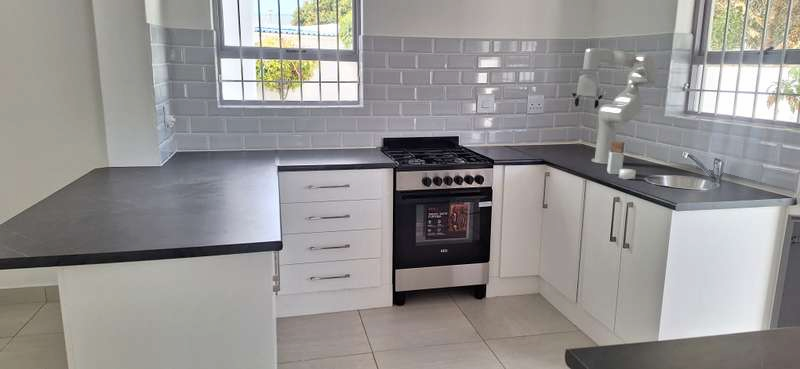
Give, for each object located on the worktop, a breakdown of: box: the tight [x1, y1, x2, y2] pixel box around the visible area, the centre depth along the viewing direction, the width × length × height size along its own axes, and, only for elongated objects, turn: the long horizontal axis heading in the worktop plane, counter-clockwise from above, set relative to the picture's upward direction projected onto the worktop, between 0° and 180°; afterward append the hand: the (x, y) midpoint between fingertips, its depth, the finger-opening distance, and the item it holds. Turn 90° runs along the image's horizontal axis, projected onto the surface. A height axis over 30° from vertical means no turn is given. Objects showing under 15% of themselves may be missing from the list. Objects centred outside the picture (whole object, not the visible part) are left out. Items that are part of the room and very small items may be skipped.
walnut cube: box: [610, 140, 626, 154], centre depth 275 cm, size 5×5×5 cm
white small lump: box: [618, 168, 637, 180], centre depth 266 cm, size 7×7×4 cm
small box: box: [606, 151, 625, 176], centre depth 277 cm, size 8×6×10 cm
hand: (586, 107), depth 290 cm, fingers open, 9 cm apart
